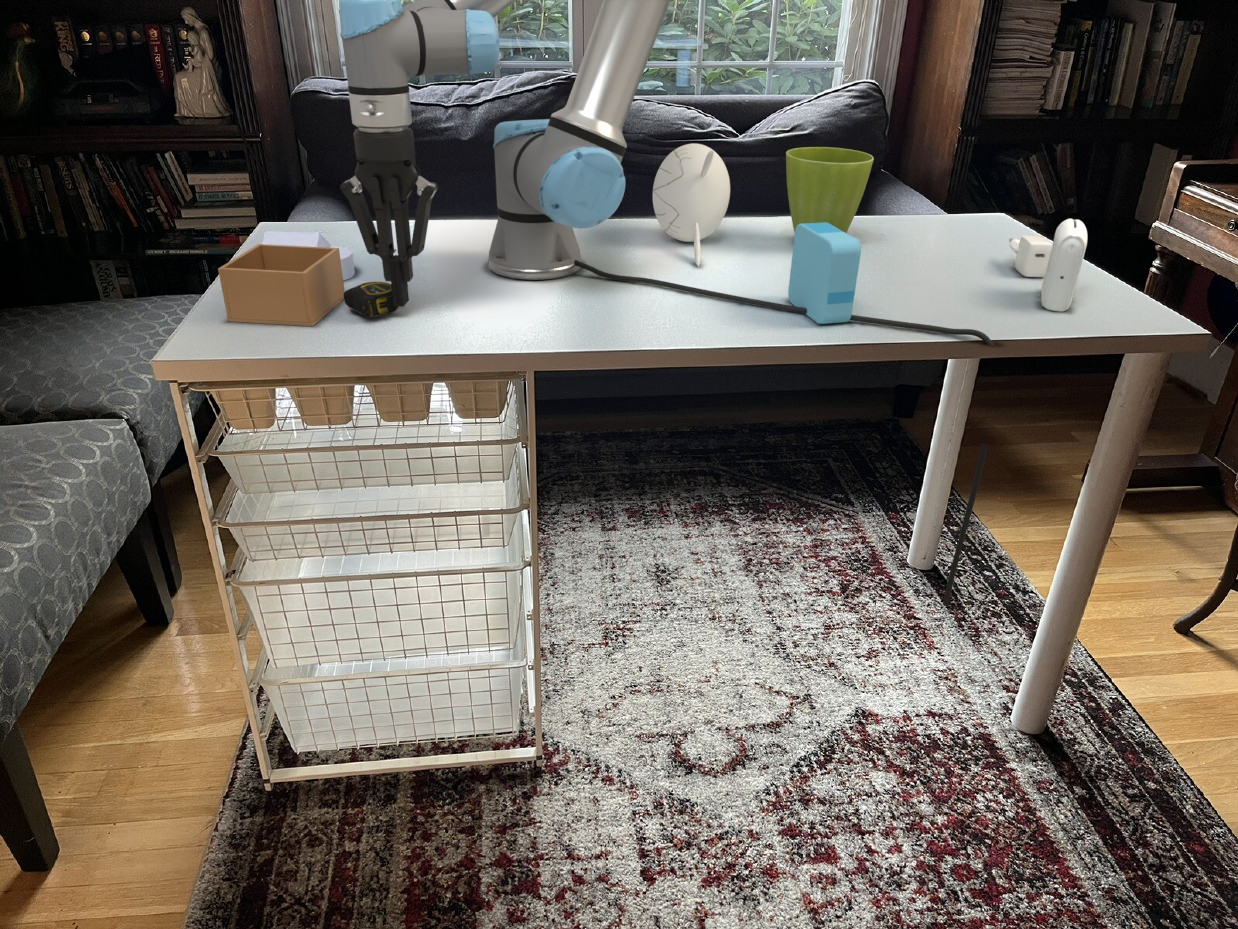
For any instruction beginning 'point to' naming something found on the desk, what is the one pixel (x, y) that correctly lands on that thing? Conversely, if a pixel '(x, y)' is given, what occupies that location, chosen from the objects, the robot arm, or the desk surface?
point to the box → (282, 284)
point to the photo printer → (1064, 265)
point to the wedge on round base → (311, 241)
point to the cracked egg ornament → (691, 194)
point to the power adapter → (1031, 255)
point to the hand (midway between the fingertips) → (401, 303)
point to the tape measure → (371, 299)
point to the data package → (824, 272)
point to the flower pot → (826, 184)
